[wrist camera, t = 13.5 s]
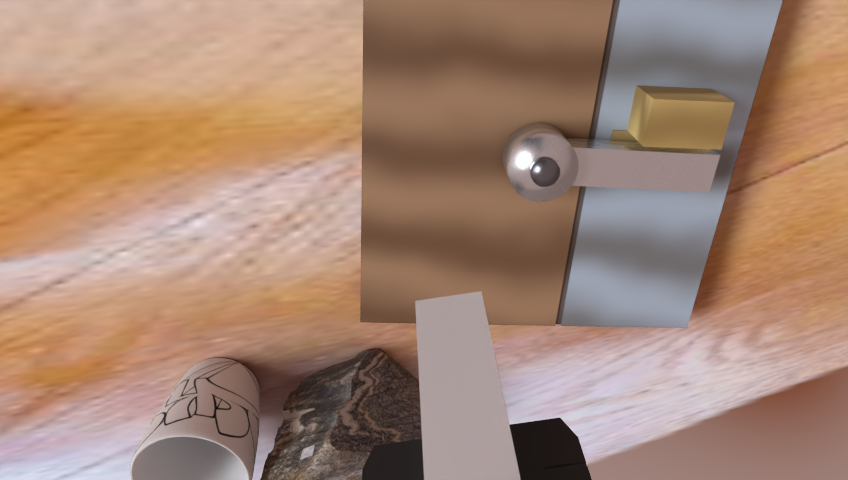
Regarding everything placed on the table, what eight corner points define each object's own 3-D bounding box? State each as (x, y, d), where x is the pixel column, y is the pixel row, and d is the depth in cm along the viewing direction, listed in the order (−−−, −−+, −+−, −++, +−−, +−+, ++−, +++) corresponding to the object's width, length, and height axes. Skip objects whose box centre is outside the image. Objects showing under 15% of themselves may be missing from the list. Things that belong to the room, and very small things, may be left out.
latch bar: (498, 183, 44) (506, 204, 41) (506, 120, 42) (515, 137, 39) (693, 192, 45) (714, 213, 42) (710, 131, 43) (734, 149, 40)
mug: (227, 457, 59) (198, 556, 50) (139, 419, 57) (92, 516, 48) (291, 374, 55) (272, 465, 46) (199, 328, 52) (160, 416, 44)
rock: (464, 438, 57) (384, 563, 44) (401, 463, 60) (310, 585, 48) (387, 322, 56) (283, 414, 43) (329, 356, 60) (218, 449, 47)
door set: (366, -92, 39) (362, -90, 34) (776, -68, 41) (834, -63, 35) (361, 302, 52) (358, 348, 47) (673, 308, 54) (704, 353, 48)
